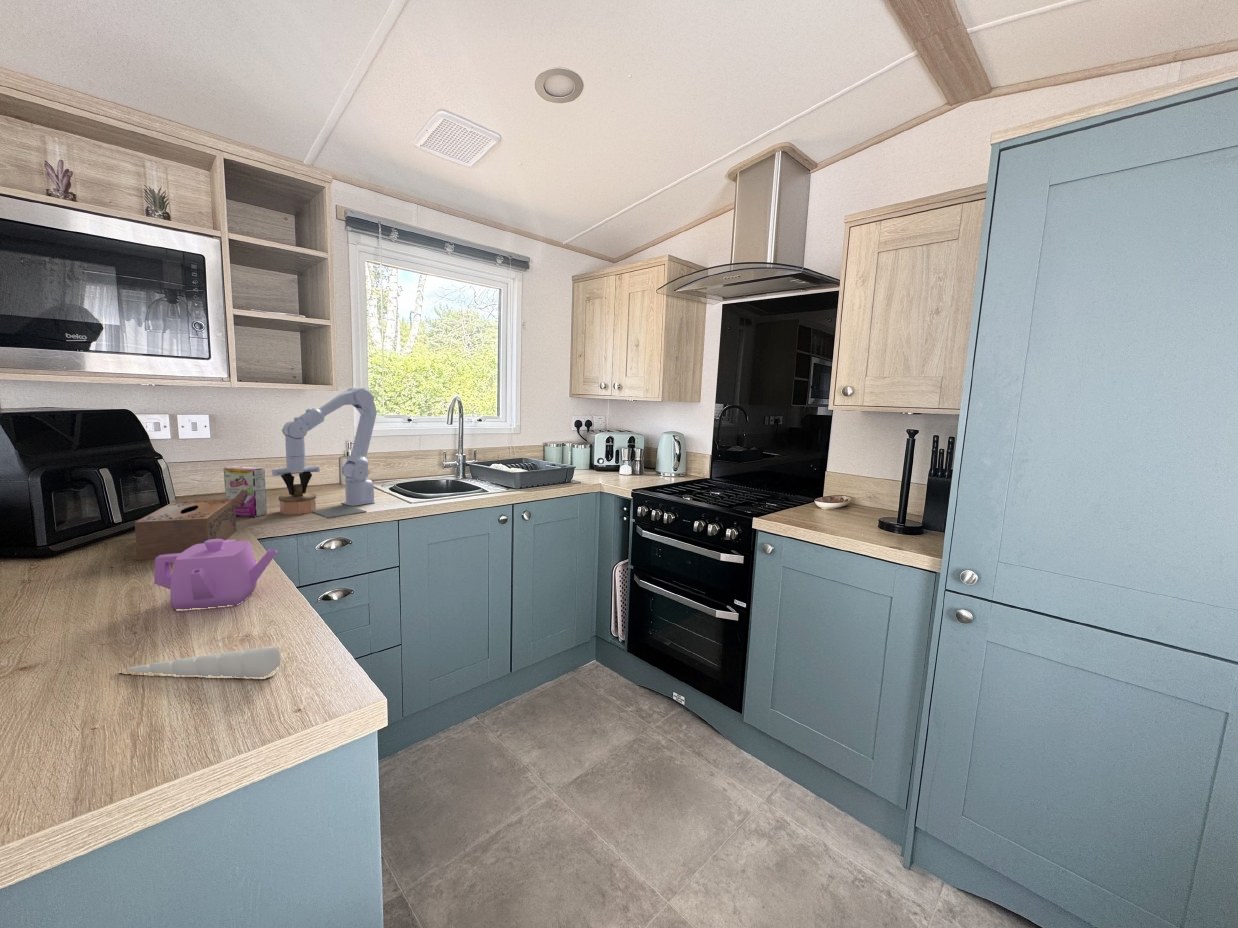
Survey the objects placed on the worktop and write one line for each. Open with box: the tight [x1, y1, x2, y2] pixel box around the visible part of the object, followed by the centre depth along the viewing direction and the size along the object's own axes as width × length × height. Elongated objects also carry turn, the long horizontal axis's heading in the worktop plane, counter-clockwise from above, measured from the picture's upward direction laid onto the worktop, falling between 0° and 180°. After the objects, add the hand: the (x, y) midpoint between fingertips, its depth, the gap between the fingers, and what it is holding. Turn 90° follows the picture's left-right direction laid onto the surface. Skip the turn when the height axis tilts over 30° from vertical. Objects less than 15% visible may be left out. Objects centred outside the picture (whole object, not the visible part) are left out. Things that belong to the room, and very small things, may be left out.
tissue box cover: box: [134, 498, 237, 561], centre depth 143 cm, size 26×14×10 cm, turn 24°
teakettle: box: [153, 539, 279, 610], centre depth 108 cm, size 17×17×12 cm
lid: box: [278, 483, 317, 502], centre depth 183 cm, size 11×11×5 cm
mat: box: [311, 505, 367, 519], centre depth 185 cm, size 13×13×1 cm
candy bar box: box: [223, 465, 268, 518], centre depth 175 cm, size 11×5×16 cm, turn 84°
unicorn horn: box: [121, 645, 282, 677], centre depth 80 cm, size 5×24×5 cm, turn 89°
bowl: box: [279, 498, 317, 515], centre depth 184 cm, size 10×10×4 cm
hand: (297, 493), depth 184 cm, fingers closed on lid, 3 cm apart
